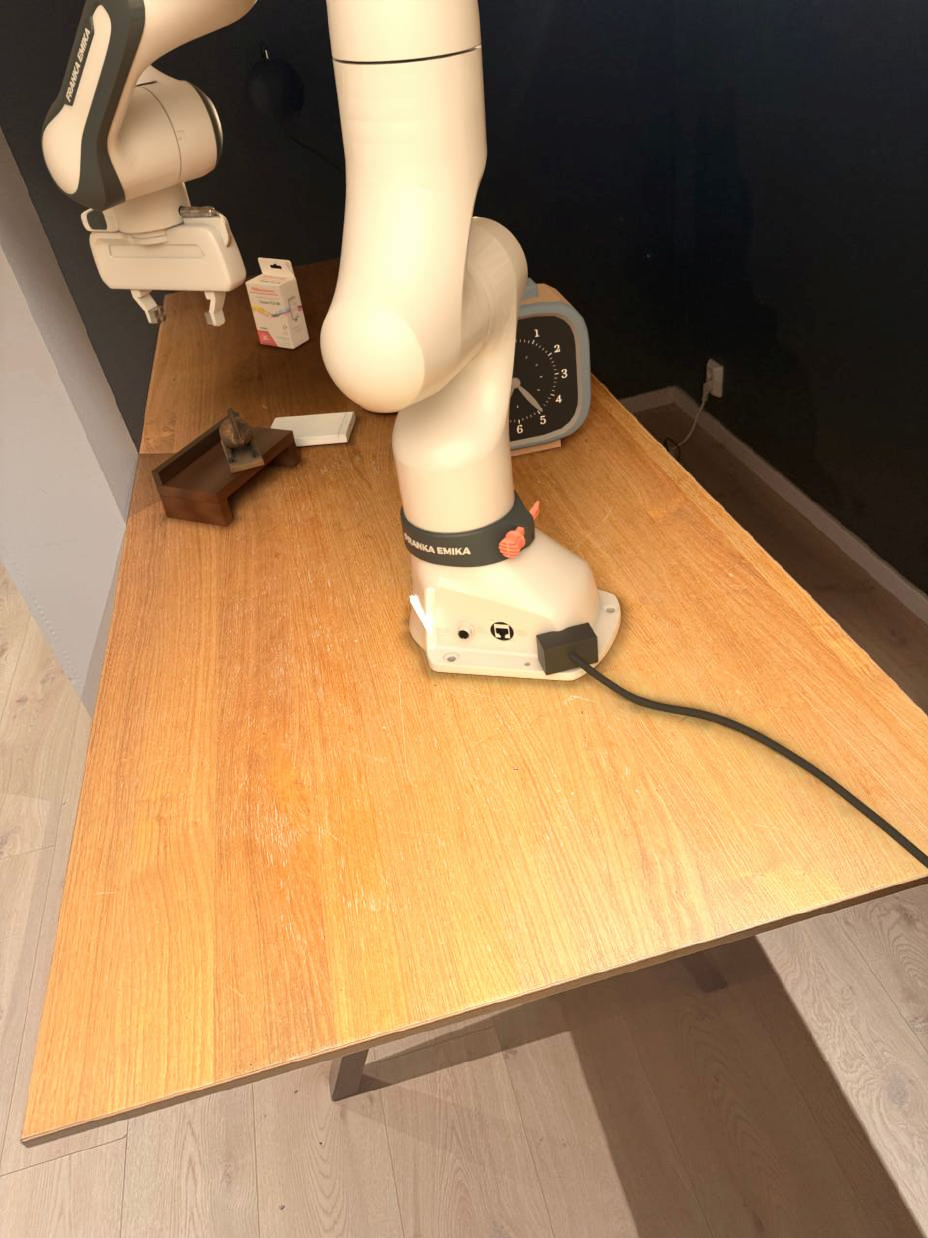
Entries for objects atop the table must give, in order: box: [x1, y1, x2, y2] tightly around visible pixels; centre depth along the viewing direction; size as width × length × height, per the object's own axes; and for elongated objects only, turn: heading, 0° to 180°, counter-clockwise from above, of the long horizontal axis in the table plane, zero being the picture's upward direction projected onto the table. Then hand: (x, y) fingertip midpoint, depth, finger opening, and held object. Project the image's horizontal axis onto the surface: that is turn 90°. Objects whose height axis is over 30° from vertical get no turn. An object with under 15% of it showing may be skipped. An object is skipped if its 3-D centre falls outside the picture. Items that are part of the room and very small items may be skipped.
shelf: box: [151, 411, 301, 527], centre depth 130 cm, size 10×18×7 cm, turn 155°
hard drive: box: [270, 411, 357, 448], centre depth 143 cm, size 2×8×12 cm
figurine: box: [219, 407, 264, 473], centre depth 125 cm, size 14×4×9 cm, turn 20°
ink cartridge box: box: [244, 257, 310, 350], centre depth 173 cm, size 9×5×15 cm, turn 58°
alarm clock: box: [509, 277, 592, 458], centre depth 127 cm, size 21×10×22 cm, turn 102°
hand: (187, 323), depth 119 cm, fingers open, 8 cm apart
